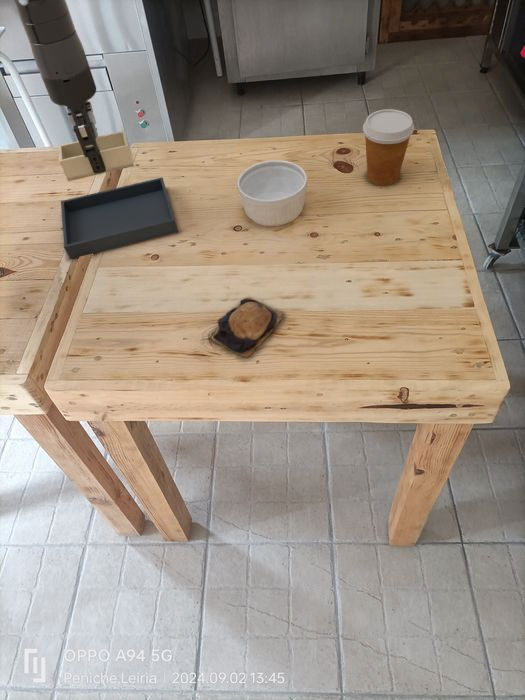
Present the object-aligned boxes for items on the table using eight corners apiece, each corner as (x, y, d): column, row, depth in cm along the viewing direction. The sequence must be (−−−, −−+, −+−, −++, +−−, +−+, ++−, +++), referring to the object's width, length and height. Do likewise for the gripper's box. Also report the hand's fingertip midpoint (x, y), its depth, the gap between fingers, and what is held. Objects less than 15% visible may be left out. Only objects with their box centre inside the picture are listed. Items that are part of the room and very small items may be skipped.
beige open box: (67, 181, 94) (59, 161, 91) (66, 165, 98) (58, 145, 94) (134, 166, 95) (128, 145, 92) (130, 150, 99) (124, 130, 96)
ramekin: (240, 233, 101) (236, 203, 96) (241, 192, 110) (237, 162, 104) (309, 228, 101) (309, 197, 95) (305, 187, 109) (304, 156, 104)
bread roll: (246, 298, 91) (244, 282, 88) (287, 317, 87) (285, 302, 84) (206, 338, 86) (202, 323, 83) (247, 361, 82) (245, 345, 79)
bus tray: (69, 259, 101) (63, 247, 99) (66, 213, 110) (60, 200, 108) (178, 232, 103) (175, 219, 101) (165, 189, 113) (162, 177, 110)
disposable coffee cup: (368, 194, 106) (372, 138, 96) (353, 168, 112) (356, 113, 102) (413, 185, 106) (423, 128, 97) (397, 160, 112) (404, 104, 103)
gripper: (38, 52, 87) (76, 147, 100) (40, 91, 78) (80, 189, 91) (84, 43, 88) (115, 138, 101) (90, 80, 79) (123, 179, 92)
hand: (98, 162), depth 96 cm, fingers closed on beige open box, 5 cm apart
